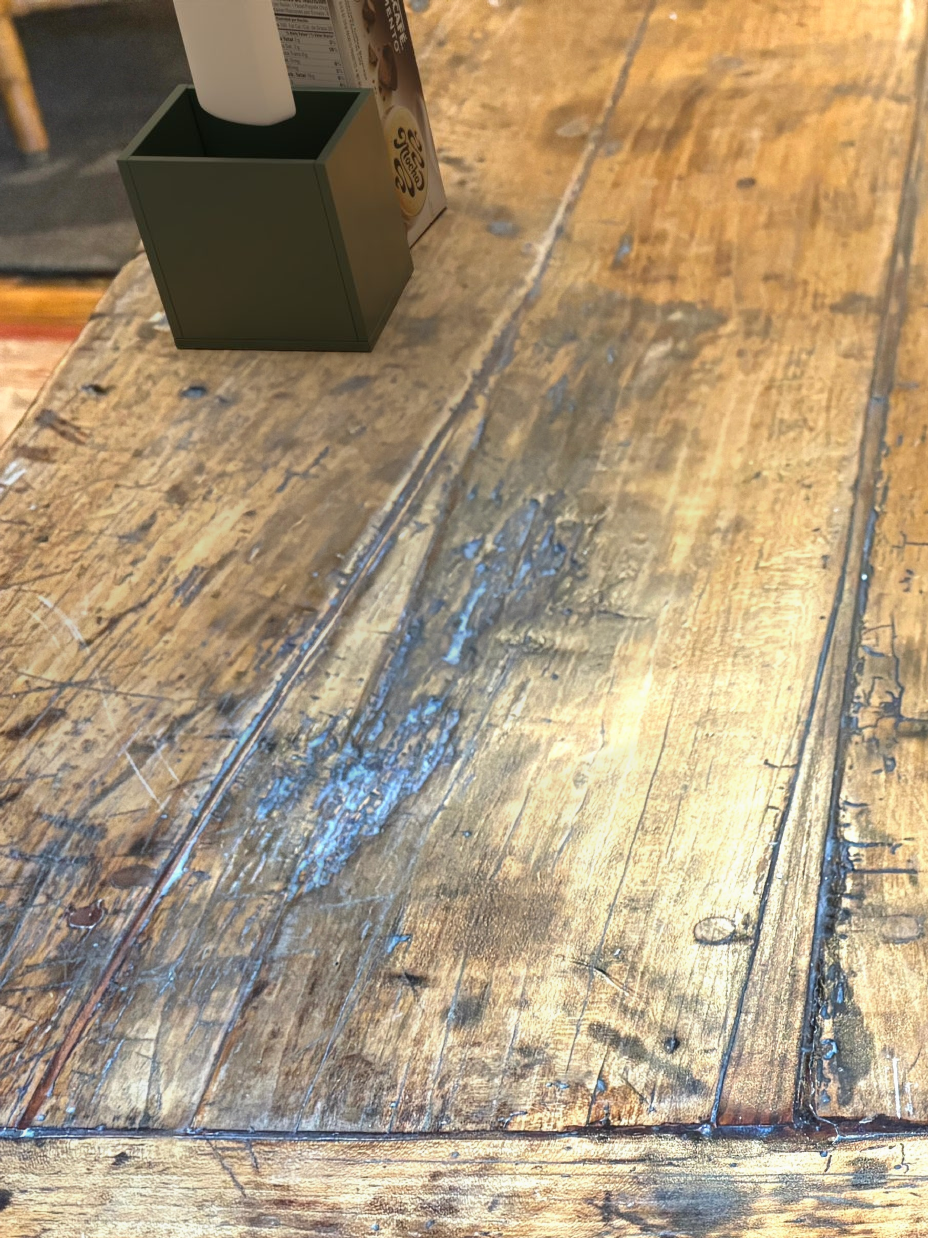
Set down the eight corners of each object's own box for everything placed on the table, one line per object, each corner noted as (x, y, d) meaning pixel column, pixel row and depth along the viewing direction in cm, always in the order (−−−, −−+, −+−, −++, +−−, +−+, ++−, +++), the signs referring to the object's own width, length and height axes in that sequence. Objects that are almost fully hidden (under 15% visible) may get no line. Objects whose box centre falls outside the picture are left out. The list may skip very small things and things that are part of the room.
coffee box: (356, 198, 130) (289, -78, 118) (450, 206, 129) (393, -70, 118) (298, 257, 123) (222, -28, 112) (397, 265, 123) (331, -20, 111)
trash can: (176, 348, 115) (115, 159, 107) (231, 265, 122) (178, 83, 115) (371, 352, 115) (324, 163, 107) (414, 268, 123) (373, 87, 115)
